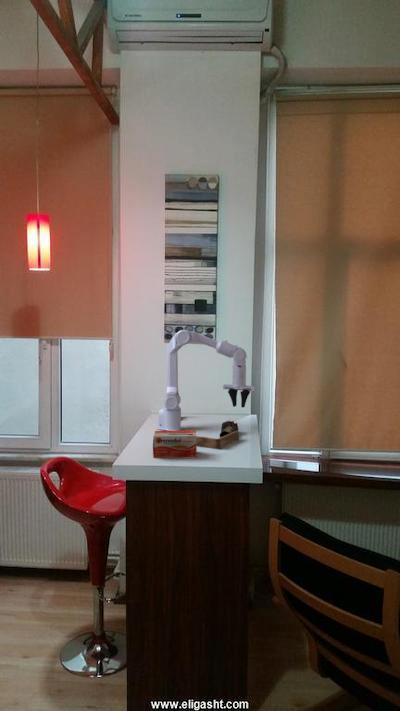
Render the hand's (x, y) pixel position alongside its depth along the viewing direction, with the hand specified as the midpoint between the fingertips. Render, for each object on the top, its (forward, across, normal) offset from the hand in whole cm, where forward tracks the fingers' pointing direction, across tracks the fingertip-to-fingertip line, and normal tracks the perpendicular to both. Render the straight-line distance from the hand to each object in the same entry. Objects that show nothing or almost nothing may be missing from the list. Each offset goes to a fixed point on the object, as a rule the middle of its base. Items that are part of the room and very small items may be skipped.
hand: (238, 406), depth 213 cm
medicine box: (+11, -3, -48) cm, 49 cm away
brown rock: (+11, +1, -12) cm, 16 cm away
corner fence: (+10, +1, -25) cm, 27 cm away
